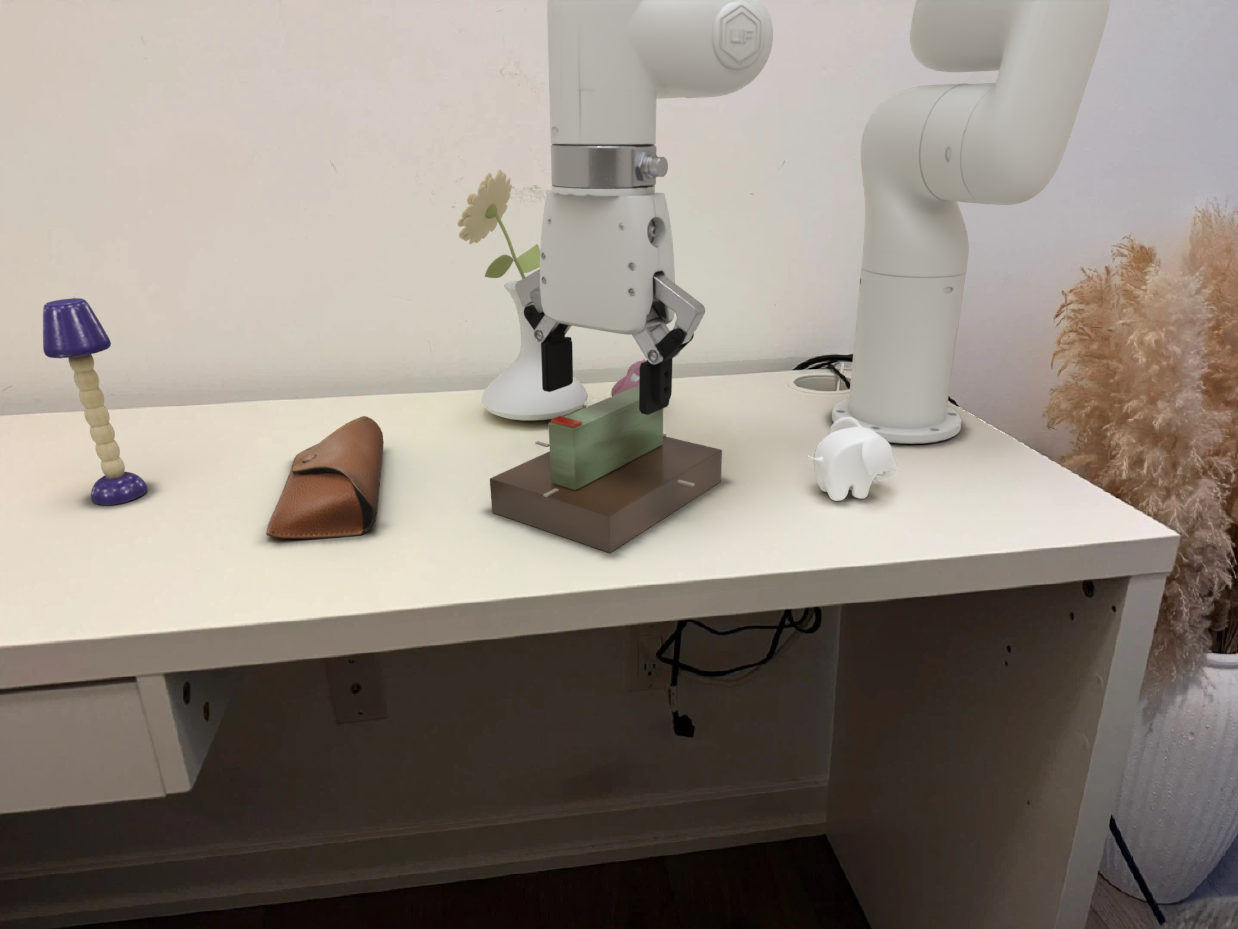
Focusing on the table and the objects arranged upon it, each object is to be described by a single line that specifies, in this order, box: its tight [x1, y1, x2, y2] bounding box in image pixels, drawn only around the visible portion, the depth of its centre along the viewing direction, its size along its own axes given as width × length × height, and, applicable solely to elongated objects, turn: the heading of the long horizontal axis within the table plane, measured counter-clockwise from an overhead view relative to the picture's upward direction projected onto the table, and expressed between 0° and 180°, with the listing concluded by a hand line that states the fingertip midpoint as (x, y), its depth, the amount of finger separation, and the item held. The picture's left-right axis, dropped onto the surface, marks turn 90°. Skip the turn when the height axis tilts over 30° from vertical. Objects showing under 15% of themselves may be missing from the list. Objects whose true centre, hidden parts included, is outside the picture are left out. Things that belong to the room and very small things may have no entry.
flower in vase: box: [457, 169, 589, 422], centre depth 87 cm, size 13×11×25 cm
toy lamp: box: [42, 297, 148, 506], centre depth 70 cm, size 5×5×17 cm
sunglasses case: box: [265, 415, 385, 540], centre depth 72 cm, size 18×7×7 cm
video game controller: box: [610, 358, 647, 397], centre depth 90 cm, size 10×5×7 cm, turn 168°
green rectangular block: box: [547, 385, 664, 490], centre depth 69 cm, size 12×2×5 cm, turn 143°
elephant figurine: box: [806, 417, 900, 502], centre depth 70 cm, size 7×8×6 cm
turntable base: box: [489, 433, 723, 554], centre depth 71 cm, size 16×16×3 cm
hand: (604, 398), depth 68 cm, fingers open, 9 cm apart
